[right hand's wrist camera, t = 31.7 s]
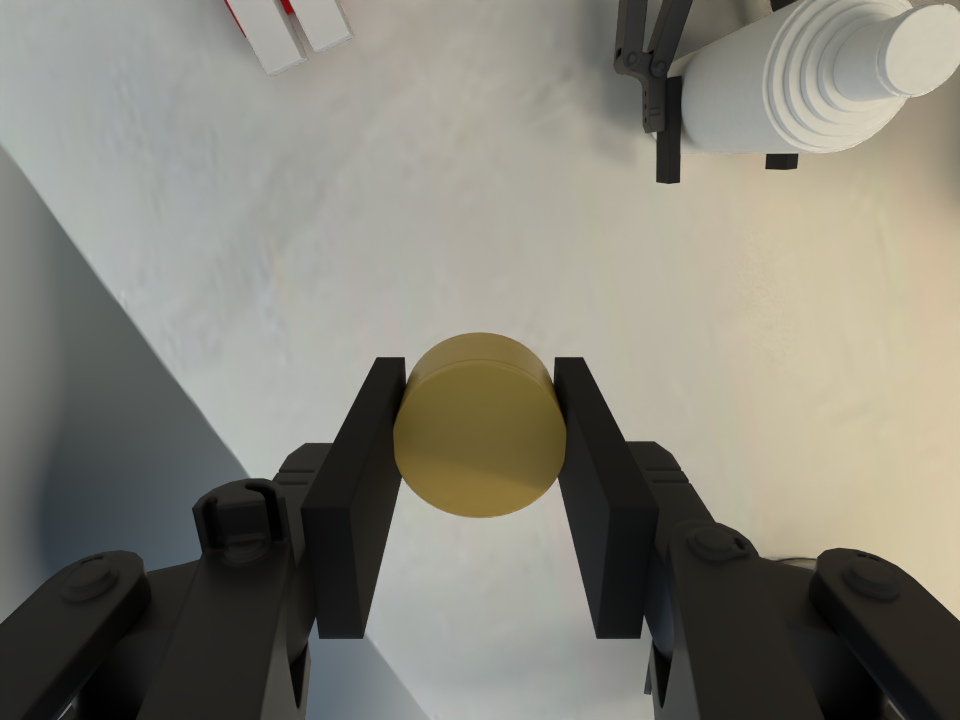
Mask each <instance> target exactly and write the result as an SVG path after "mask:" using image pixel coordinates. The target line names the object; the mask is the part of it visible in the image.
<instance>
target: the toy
mask: <svg viewBox="0 0 960 720" xmlns="http://www.w3.org/2000/svg"><path fill="white" fill-rule="evenodd" d="M224 1H225V3H226V4H227V6H228V8H229V10H230V11H231V13H232V15H233V17H234V18H235V20H236V22H237V24H238V25H239V27H240V29H241V31H242V32H243V34H244V36H245V37H247V39H248V41H249V43H250V44H251V46H252V48H253V50H254V52H255V54H256V56H257V57H258V59H259V61H260V63H261V65H262V67H263V69H264V70H265V72H266V74H267V75H278V74H280V73H282V72H284V71H286V70H288V69H290V68H292V67H294V66H296V65H298V64H300V63H302V62H304V61H306V60H308V59H309V58H308V56H307V54H306V52H305V50H304V48H303V46H302V44H301V42H300V40H299V38H298V36H297V34H296V32H295V30H294V28H293V26H292V24H291V22H290V20H289V18H288V16H287V15H289V14H291V13H293V12H295V13H296V15H297V17H298V20H299V22H300V24H301V26H302V28H303V30H304V32H305V34H306V36H307V38H308V40H309V42H310V44H311V46H312V48H313V50H314V52H318V53H322V52H324V51H326V50H328V49H330V48H332V47H334V46H336V45H338V44H340V43H342V42H344V41H346V40H348V39H350V38H352V37H354V34H353V31H352V29H351V27H350V25H349V22H348V20H347V18H346V16H345V14H344V11H343V9H342V7H341V5H340V3H339V0H224Z"/></svg>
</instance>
